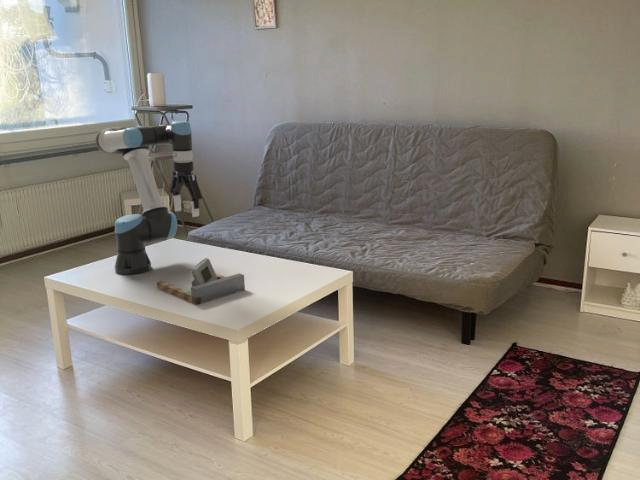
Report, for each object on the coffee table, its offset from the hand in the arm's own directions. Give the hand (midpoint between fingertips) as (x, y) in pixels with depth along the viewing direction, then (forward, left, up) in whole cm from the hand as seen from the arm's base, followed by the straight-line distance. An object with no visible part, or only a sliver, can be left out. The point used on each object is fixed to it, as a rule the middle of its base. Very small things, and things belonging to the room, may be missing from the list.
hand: (186, 213), depth 256 cm
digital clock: (+17, -5, -27) cm, 32 cm away
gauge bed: (+15, -6, -27) cm, 31 cm away
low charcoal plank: (+28, -6, -27) cm, 39 cm away
